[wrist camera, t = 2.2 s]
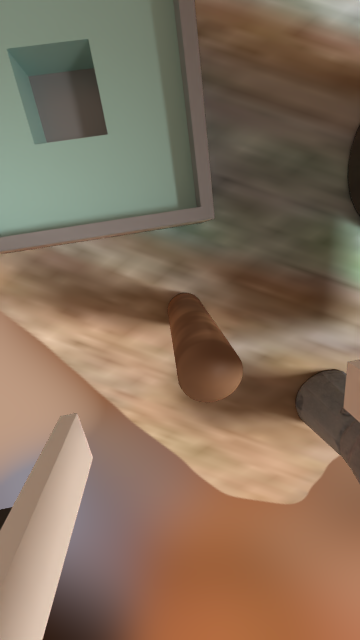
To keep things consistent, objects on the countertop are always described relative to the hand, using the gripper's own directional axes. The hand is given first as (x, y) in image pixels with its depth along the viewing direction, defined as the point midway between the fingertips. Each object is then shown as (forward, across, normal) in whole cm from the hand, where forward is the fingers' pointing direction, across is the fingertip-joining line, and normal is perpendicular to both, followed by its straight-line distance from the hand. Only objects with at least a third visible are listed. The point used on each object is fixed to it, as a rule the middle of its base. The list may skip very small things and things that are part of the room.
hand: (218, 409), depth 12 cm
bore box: (+17, +6, -19) cm, 26 cm away
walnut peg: (+17, 0, 0) cm, 17 cm away
